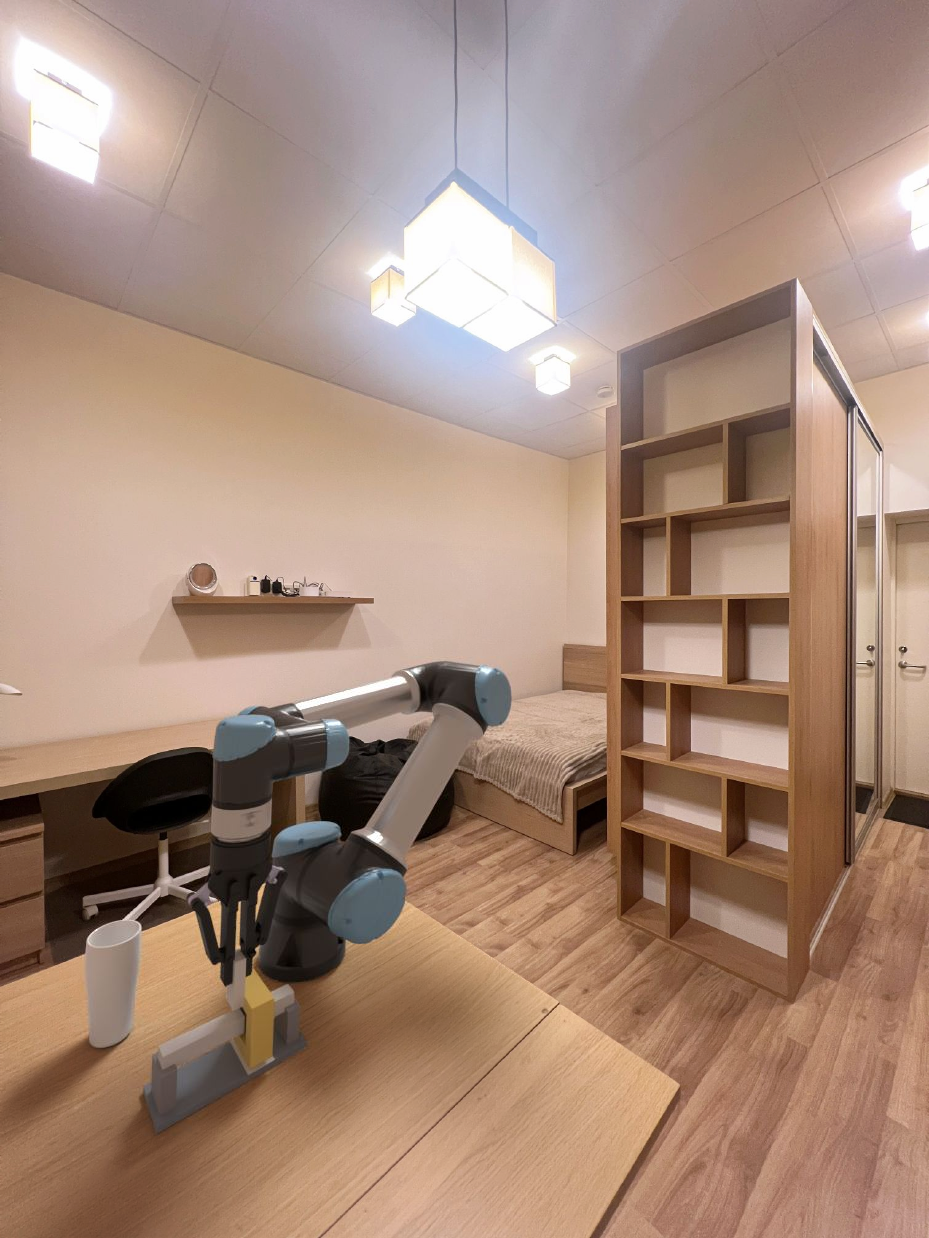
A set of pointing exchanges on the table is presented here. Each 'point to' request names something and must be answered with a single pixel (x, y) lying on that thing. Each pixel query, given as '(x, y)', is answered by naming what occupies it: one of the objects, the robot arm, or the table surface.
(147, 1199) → the table surface
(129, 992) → the white cup
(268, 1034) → the collar
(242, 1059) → the rail
